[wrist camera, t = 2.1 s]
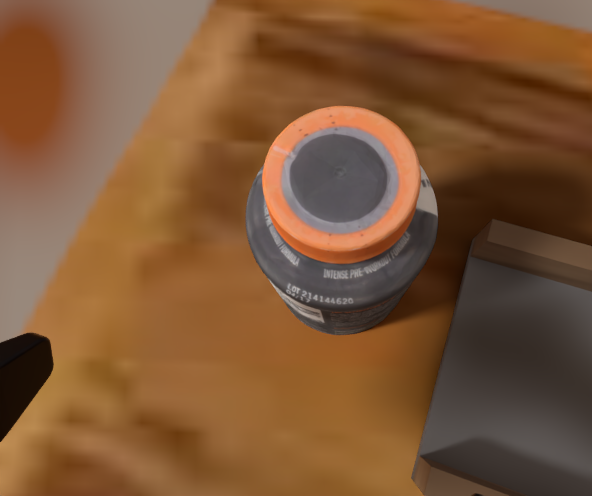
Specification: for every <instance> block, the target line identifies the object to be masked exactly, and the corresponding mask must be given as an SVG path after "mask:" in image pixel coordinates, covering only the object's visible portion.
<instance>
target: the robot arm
mask: <svg viewBox="0 0 592 496" xmlns="http://www.w3.org/2000/svg"><path fill="white" fill-rule="evenodd" d="M53 365H54V364H53V357H52V350H51V344H50V340H49V339H48V338H47V337H44V336H42V335H39V334H36V333H26V334H23V335H20V336H17V337H15V338H12V339H9V340H6V341H4V342H1V343H0V442H1V441H2V440H3V439H4V437H5V436H6V435H7V433H8V432H9V431H10V430H11V428H12V427H13V426H14V424H15V423H16V422H17V420H18V419H19V417H20V416H21V415H22V413H23V412H24V411H25V409H26V408H27V406H28V405H29V404H30V402H31V401H32V400H33V398H34V397H35V395H36V394H37V393H38V391H39V390H40V389H41V387H42V386H43V384H44V383H45V382H46V380H47V379H48V378H49V376H50V374H51V372H52V370H53ZM472 496H483V495H481V494H478V493H475V494H472Z"/></svg>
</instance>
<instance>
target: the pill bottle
mask: <svg viewBox="0 0 592 496" xmlns="http://www.w3.org/2000/svg"><path fill="white" fill-rule="evenodd" d="M437 228H438V212H437V203H436V199H435V194H434V191H433V188H432V186H431V183H430V181H429V179H428V177H427V175H426V173H425V172H424V170H423V168H422V167H421V166H420V164H419V160H418V156H417V153H416V151H415V148H414V147H413V145H412V143H411V141H410V140H409V139H408V137H407V136H406V135H405V134H404V133H403V131H402V130H401V129H400V128H399V127H398V126H397V125H396V124H394V123H393V122H392V121H390V120H389V119H387V118H385V117H384V116H382V115H380V114H378V113H376V112H373V111H370V110H367V109H364V108H359V107H351V106H332V107H327V108H322V109H318V110H315V111H313V112H310V113H308V114H306V115H304V116H302V117H300V118H298V119H297V120H295V121H294V122H292V123H291V124H289V125H288V127H286V128H285V129H284V130H283V131H282V132H281V134H280V135H279V136H278V137H277V138H276V139H275V141H274V142H273V144H272V146H271V147H270V149H269V152H268V154H267V157H266V160H265V164H264V165H263V167H262V168H261V170H260V171H259V173H258V175H257V176H256V178H255V180H254V182H253V185H252V187H251V190H250V193H249V196H248V200H247V207H246V230H247V236H248V241H249V244H250V247H251V250H252V252H253V255H254V257H255V259H256V262H257V263H258V265H259V266H260V268H261V269H262V271H263V272H264V274H265V275H266V276H267V278H268V279H269V281H270V282H271V283H272V285H273V286H274V288H275V289H276V291H277V292H278V294H279V295H280V296H281V298H282V299H283V301H284V302H285V303H286V305H287V306H288V308H289V309H290V310H291V312H292V313H293V314H294V315H295V316H296V317H297V318H298V319H299V320H300V321H302V322H303V323H304V324H306V325H307V326H309V327H311V328H313V329H315V330H318V331H320V332H323V333H327V334H332V335H349V334H356V333H359V332H362V331H365V330H367V329H370V328H372V327H373V326H375V325H377V324H378V323H380V322H381V321H382V320H384V319H385V318H386V317H387V316H388V315H389V313H390V312H391V311H392V310H393V309H394V308H395V306H396V305H397V304H398V302H399V301H400V299H401V298H402V296H403V295H404V293H405V292H406V291H407V289H408V288H409V286H410V285H411V283H412V282H413V280H414V279H415V278H416V276H417V275H418V274H419V272H420V271H421V269H422V268H423V266H424V265H425V263H426V261H427V260H428V258H429V256H430V253H431V251H432V249H433V246H434V243H435V240H436V236H437Z"/></svg>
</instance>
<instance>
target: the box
mask: <svg viewBox="0 0 592 496" xmlns="http://www.w3.org/2000/svg"><path fill="white" fill-rule="evenodd" d="M411 478H412V480H413V481H414V482H415V484H416V485H417V486H418V488H419V489H420V490H421V492H422V493H423V494H424V495H425V496H472V494H475V493H478V494H481V495H483V496H592V246H590V245H586V244H582V243H579V242H575V241H571V240H568V239H564V238H561V237H557V236H553V235H550V234H546V233H542V232H539V231H535V230H531V229H528V228H524V227H521V226H517V225H513V224H510V223H506V222H502V221H499V220H495V219H492V220H491V221H490V222H489V223H488V224H487V225H486V226H485V227H484V228H483V229H482V230H481V231H480V232H479V233H478V234H477V235H476V236H475V237H474V239H473V240H472V243H471V247H470V251H469V255H468V258H467V262H466V266H465V270H464V274H463V278H462V282H461V286H460V290H459V294H458V298H457V301H456V305H455V309H454V313H453V317H452V321H451V325H450V329H449V333H448V337H447V340H446V344H445V348H444V352H443V356H442V360H441V364H440V368H439V372H438V376H437V380H436V383H435V387H434V391H433V395H432V399H431V403H430V407H429V411H428V415H427V419H426V423H425V426H424V430H423V434H422V438H421V442H420V446H419V450H418V454H417V458H416V462H415V465H414V469H413V473H412V477H411Z"/></svg>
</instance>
